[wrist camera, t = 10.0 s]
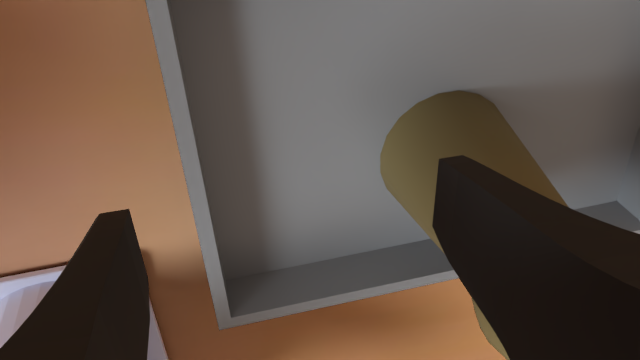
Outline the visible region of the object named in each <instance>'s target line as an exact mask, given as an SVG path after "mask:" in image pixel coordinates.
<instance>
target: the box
mask: <svg viewBox="0 0 640 360" xmlns="http://www.w3.org/2000/svg"><path fill="white" fill-rule="evenodd" d="M145 1H146V5H147V9H148V14H149V18H150V23H151V27H152V32H153V36H154V41H155V45H156V50H157V54H158V59H159V63H160V68H161V72H162V76H163V81H164V85H165V90H166V94H167V99H168V103H169V108H170V112H171V117H172V121H173V126H174V130H175V135H176V139H177V144H178V148H179V152H180V157H181V161H182V166H183V170H184V175H185V179H186V184H187V188H188V193H189V197H190V202H191V206H192V211H193V215H194V219H195V224H196V228H197V233H198V237H199V242H200V246H201V251H202V255H203V260H204V264H205V269H206V273H207V278H208V282H209V286H210V291H211V295H212V300H213V304H214V309H215V313H216V318H217V322H218V327H219V330H223V329H227V328H232V327H237V326H241V325H246V324H250V323H255V322H260V321H264V320H269V319H273V318H278V317H283V316H287V315H292V314H296V313H301V312H305V311H310V310H315V309H319V308H324V307H328V306H333V305H338V304H342V303H347V302H351V301H356V300H361V299H365V298H370V297H374V296H379V295H383V294H388V293H393V292H397V291H402V290H406V289H411V288H416V287H420V286H425V285H429V284H434V283H438V282H443V281H448V280H452V279H457V278H459V277H458V275H457V274H456V272H455V271H454V269H453V268H452V266H451V264H450V263H449V261H448V259H447V257H446V255H445V254H444V253H443V252H442V251H441V249H440V248H439V247H438V246H437V245H436V244H435V243H434V242H433V240H432V239H431V238H430V237H429V236H428V235H427V234H426V233H425V231H424V230H423V229H422V228H421V227H420V226H419V225H418V223H417V222H416V221H415V220H414V219H413V218H412V217H411V216H410V214H409V213H408V212H407V211H406V210H405V209H404V208H403V207H402V205H401V204H400V203H399V202H398V201H397V200H396V199H395V198H394V196H393V195H392V194H391V193H390V192H389V191H388V190H387V188H386V186H385V183H384V181H383V178H382V176H381V173H380V154H381V151H382V148H383V145H384V142H385V139H386V136H387V134H388V133H389V132H390V130H391V129H392V127H393V126H394V125H395V123H396V122H397V120H398V119H399V117H401V116H402V115H403V114H404V113H406V112H407V111H408V110H409V109H410V108H412V107H413V106H414V105H415V104H417V103H418V102H420V101H423V100H425V99H427V98H429V97H431V96H434V95H436V94H439V93H446V92H453V91H464V92H470V93H475V94H479V95H481V96H483V97H484V98H486V99H487V100H489V101H491V102H492V103H494V104H495V106H496V107H497V108H498V110H499V111H500V113H501V114H502V115H503V117H504V118H505V120H506V121H507V122H508V124H509V125H510V126H511V128H512V129H513V131H514V132H515V133H516V135H517V136H518V138H519V139H520V140H521V142H522V143H523V144H524V146H525V147H526V149H527V150H528V151H529V153H530V154H531V156H532V157H533V158H534V160H535V161H536V162H537V164H538V165H539V167H540V168H541V169H542V171H543V172H544V174H545V175H546V176H547V178H548V179H549V180H550V182H551V183H552V185H553V186H554V187H555V189H556V190H557V192H558V193H559V194H560V196H561V197H562V198H563V200H564V201H565V203H566V204H567V205H568V207H569V208H571V209H573V210H576V211H578V212H580V213H583V214H585V215H588V216H590V217H592V218H595V219H598V220H601V221H603V222H606V223H609V224H611V225H614V226H617V227H620V228H622V229H625V230H628V231H632V232H635V233H638V234H640V0H145Z"/></svg>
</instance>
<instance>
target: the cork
mask: <svg viewBox="0 0 640 360" xmlns="http://www.w3.org/2000/svg"><path fill="white" fill-rule="evenodd" d="M459 155H464V156H466V157H468V158H471V159H473V160H475V161H477V162H479V163H481V164H483V165H485V166H487V167H489V168H491V169H492V170H494V171H496V172H498V173H500V174H502V175H504V176H506V177H508V178H510V179H511V180H513V181H515V182H517V183H519V184H521V185H523V186H525V187H527V188H529V189H531V190H533V191H535V192H537V193H539V194H541V195H543V196H545V197H547V198H549V199H551V200H553V201H555V202H558V203H560V204H562V205H564V206H567V207H568V205H567V204H566V203H565V201H564V200H563V198H562V197H561V196H560V194H559V193H558V192H557V190H556V189H555V187H554V186H553V185H552V183H551V182H550V180H549V179H548V178H547V176H546V175H545V174H544V172H543V171H542V169H541V168H540V167H539V165H538V164H537V162H536V161H535V160H534V158H533V157H532V156H531V154H530V153H529V151H528V150H527V149H526V147H525V146H524V144H523V143H522V142H521V140H520V139H519V138H518V136H517V135H516V133H515V132H514V131H513V129H512V128H511V126H510V125H509V124H508V122H507V121H506V120H505V118H504V117H503V115H502V114H501V113H500V111H499V110H498V108H497V107H496V106H495V104H494V103H492V102H491V101H489V100H487V99H486V98H484V97H483V96H481V95H479V94H475V93H470V92H464V91H453V92H446V93H439V94H436V95H434V96H431V97H429V98H427V99H425V100H423V101H420V102H418V103H417V104H415V105H414V106H413V107H412V108H410V109H409V110H408V111H407V112H406V113H404V114H403V115H402V116H401V117H399V119H398V120H397V122H396V123H395V125H394V126H393V127H392V129H391V130H390V132H389V133H388V134H387V136H386V139H385V142H384V145H383V148H382V151H381V154H380V173H381V176H382V178H383V181H384V183H385V186H386V188H387V190H388V191H389V192H390V193H391V194H392V195H393V196H394V198H395V199H396V200H397V201H398V202H399V203H400V204H401V205H402V207H403V208H404V209H405V210H406V211H407V212H408V213H409V214H410V216H411V217H412V218H413V219H414V220H415V221H416V222H417V223H418V225H419V226H420V227H421V228H422V229H423V230H424V231H425V233H426V234H427V235H428V236H429V237H430V238H431V239H432V240H433V242H434V243H435V244H436V245H437V246H438V247H439V248H440V249H441V251H442V252H443V253H444V251H443V249H442V247H441V245H440V243H439V240H438V238H437V236H436V234H435V231H434V229H433V227H432V223H433V213H434V203H435V193H436V183H437V173H438V163H439V159H441V158H447V157H453V156H459ZM444 254H445V253H444ZM472 301H473V305H474V309H475V313H476V316H477V319H478V322H479V325H480V328H481V330H482V331H483V333H484V335H485V337H486V339H487V340H488V342H489V343H490V344H491V345H492V346H493V347H494V348H495V349H496V350H497V351H498V352H500V353H501V354H502V355H503V356H504V357H505V358H506V359H507V360H510V359H509V357H508V355H507V353H506V351H505V349H504V347H503V345H502V344H501V342H500V340H499V338H498V337H497V335H496V333H495V332H494V330H493V329H492V327H491V326H490V324H489V323H488V321H487V319H486V318H485V316H484V315H483V313H482V312H481V310H480V309H479V307H478V306H477V304H476V303H475V301H474V300H473V298H472Z"/></svg>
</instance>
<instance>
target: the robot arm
mask: <svg viewBox="0 0 640 360" xmlns="http://www.w3.org/2000/svg"><path fill="white" fill-rule="evenodd" d="M432 227H433V229H434V231H435V234H436V236H437V238H438V240H439V243H440V245H441V247H442V249H443V251H444V253H445V255H446V257H447V259H448V261H449V263H450V264H451V266H452V268H453V269H454V271H455V272H456V274H457V275H458V277H459V278H460V280H461V281H462V283H463V285H464V286H465V288H466V289H467V291H468V292H469V294H470V295H471V297H472V298H473V300H474V301H475V303H476V304H477V306H478V307H479V309H480V310H481V312H482V313H483V315H484V316H485V318H486V319H487V321H488V323H489V324H490V326H491V327H492V329H493V330H494V332H495V333H496V335H497V337H498V338H499V340H500V342H501V344H502V345H503V347H504V349H505V351H506V353H507V355H508V357H509V359H510V360H640V234H638V233H635V232H632V231H628V230H625V229H622V228H620V227H617V226H614V225H611V224H609V223H606V222H603V221H601V220H598V219H595V218H592V217H590V216H588V215H585V214H583V213H580V212H578V211H576V210H573V209H571V208H569V207H567V206H564V205H562V204H560V203H558V202H555V201H553V200H551V199H549V198H547V197H545V196H543V195H541V194H539V193H537V192H535V191H533V190H531V189H529V188H527V187H525V186H523V185H521V184H519V183H517V182H515V181H513V180H511V179H510V178H508V177H506V176H504V175H502V174H500V173H498V172H496V171H494V170H492V169H491V168H489V167H487V166H485V165H483V164H481V163H479V162H477V161H475V160H473V159H471V158H468V157H466V156H464V155H459V156H453V157H447V158H441V159H439V163H438V173H437V183H436V193H435V203H434V213H433V223H432ZM0 360H169V359H168V356H167V353H166V350H165V346H164V343H163V340H162V337H161V333H160V330H159V327H158V324H157V321H156V317H155V314H154V311H153V308H152V305H151V301H150V298H149V286H148V276H147V273H146V269H145V266H144V262H143V258H142V255H141V251H140V247H139V244H138V240H137V236H136V233H135V229H134V225H133V222H132V218H131V215H130V211H129V209H126V210H120V211H113V212H107V213H101V214H99V215H98V217H97V218H96V219H95V221H94V223H93V224H92V226H91V227H90V229H89V231H88V232H87V234H86V236H85V237H84V239H83V241H82V242H81V244H80V245H79V247H78V249H77V250H76V252H75V253H74V255H73V256H72V258H71V259H70V261H69V262H68V264H67V265H65V266H59V267H54V268H49V269H44V270H38V271H33V272H28V273H23V274H17V275H12V276H7V277H2V278H0Z"/></svg>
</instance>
